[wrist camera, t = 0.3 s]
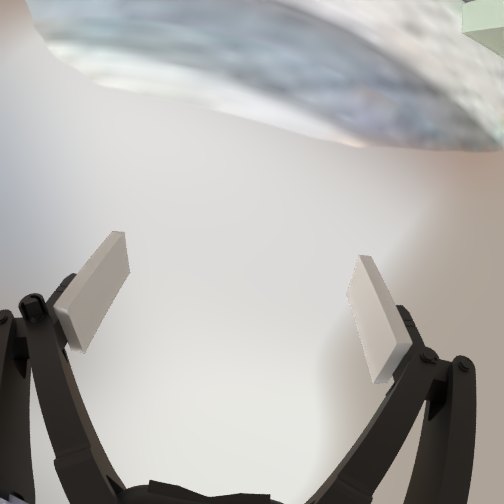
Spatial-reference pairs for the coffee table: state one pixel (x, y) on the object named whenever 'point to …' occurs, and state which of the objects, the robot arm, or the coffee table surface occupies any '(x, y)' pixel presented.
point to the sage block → (485, 23)
